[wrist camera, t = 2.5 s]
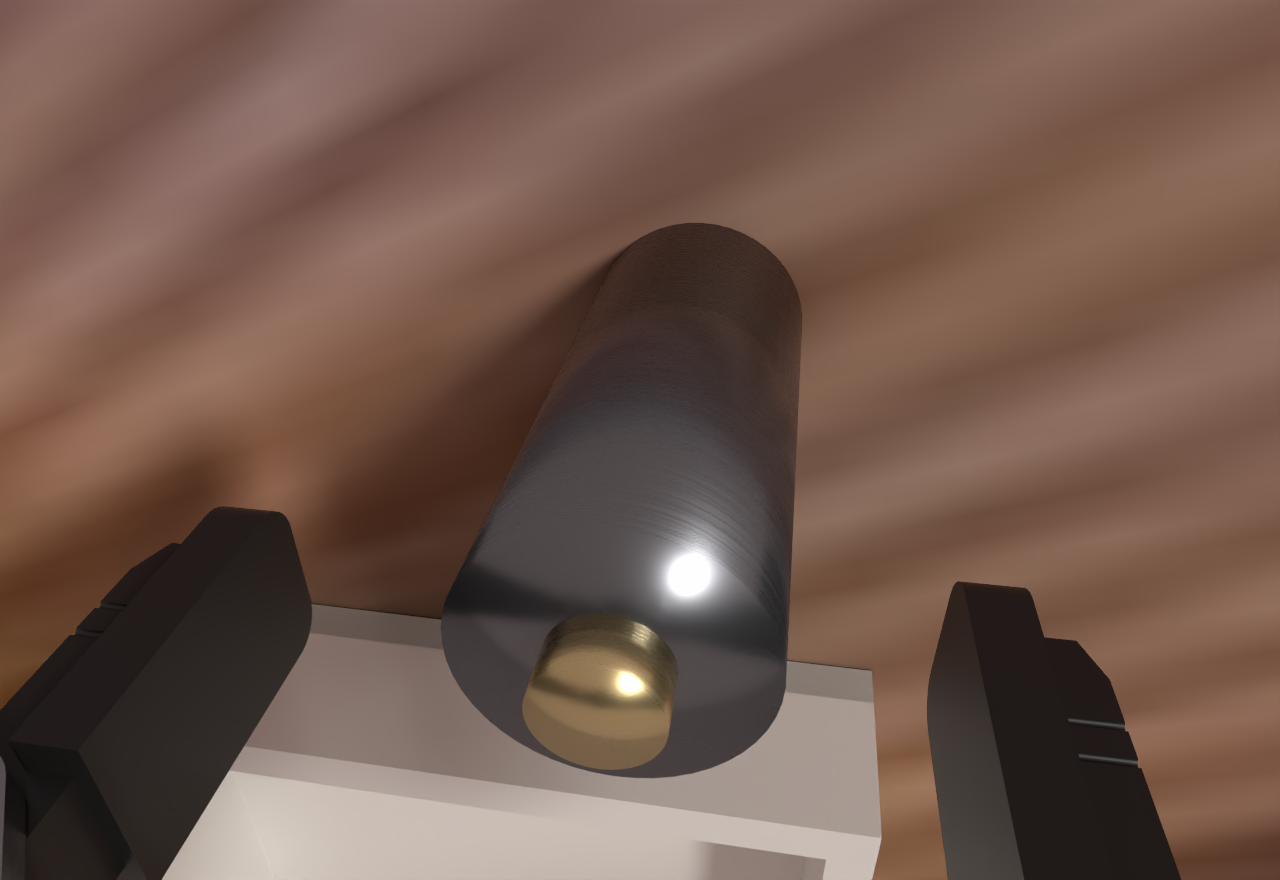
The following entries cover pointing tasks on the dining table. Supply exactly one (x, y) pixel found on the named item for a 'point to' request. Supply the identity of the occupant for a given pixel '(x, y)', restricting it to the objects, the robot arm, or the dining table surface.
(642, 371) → the cell
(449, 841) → the white square tray
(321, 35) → the dining table surface
